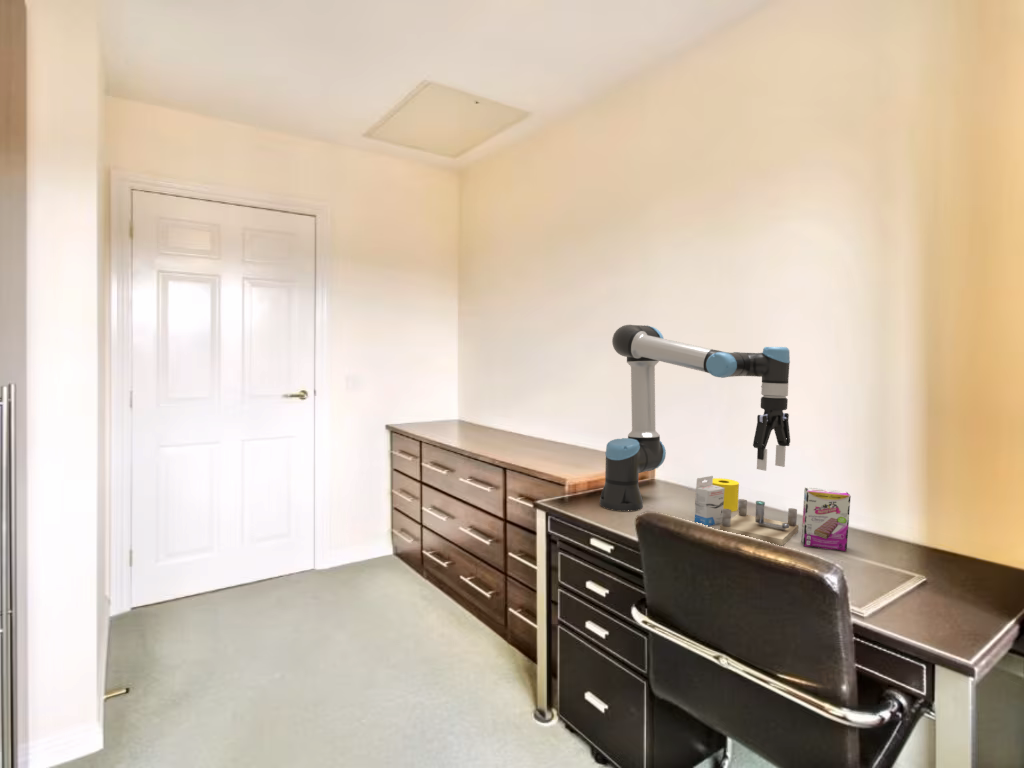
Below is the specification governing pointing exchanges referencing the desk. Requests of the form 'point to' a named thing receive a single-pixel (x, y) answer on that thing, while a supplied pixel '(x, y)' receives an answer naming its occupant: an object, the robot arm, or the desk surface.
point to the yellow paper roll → (728, 492)
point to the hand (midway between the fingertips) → (770, 467)
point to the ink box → (708, 502)
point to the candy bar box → (825, 519)
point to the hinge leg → (760, 517)
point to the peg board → (751, 528)
